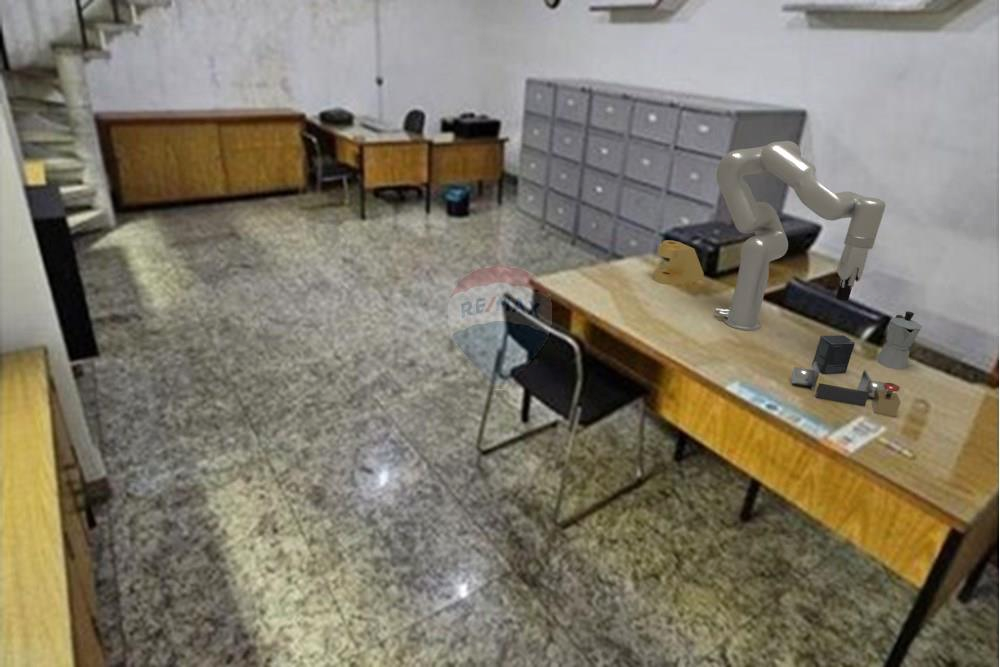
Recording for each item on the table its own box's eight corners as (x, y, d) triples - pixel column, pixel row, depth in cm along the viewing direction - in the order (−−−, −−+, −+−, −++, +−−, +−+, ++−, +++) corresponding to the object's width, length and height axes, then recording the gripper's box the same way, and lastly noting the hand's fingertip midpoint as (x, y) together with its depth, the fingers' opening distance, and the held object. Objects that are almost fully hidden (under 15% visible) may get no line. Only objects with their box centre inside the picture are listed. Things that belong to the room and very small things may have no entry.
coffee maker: (911, 377, 192) (932, 323, 184) (879, 371, 194) (899, 317, 186) (899, 356, 205) (918, 304, 197) (869, 351, 207) (887, 300, 199)
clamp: (662, 286, 250) (669, 247, 243) (648, 278, 257) (655, 240, 251) (702, 281, 258) (710, 243, 251) (687, 273, 266) (694, 236, 259)
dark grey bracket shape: (794, 393, 178) (800, 373, 175) (789, 377, 187) (795, 358, 184) (887, 411, 172) (894, 390, 170) (878, 393, 181) (885, 373, 178)
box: (833, 365, 196) (843, 334, 191) (845, 374, 191) (856, 343, 186) (810, 366, 194) (820, 335, 190) (822, 375, 189) (832, 343, 185)
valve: (873, 413, 171) (883, 388, 167) (870, 404, 175) (880, 379, 172) (894, 418, 169) (904, 392, 166) (891, 409, 174) (900, 383, 170)
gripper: (840, 232, 192) (824, 289, 200) (850, 246, 179) (832, 306, 187) (867, 236, 191) (850, 293, 198) (879, 249, 177) (860, 310, 185)
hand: (841, 299), depth 193 cm, fingers closed
